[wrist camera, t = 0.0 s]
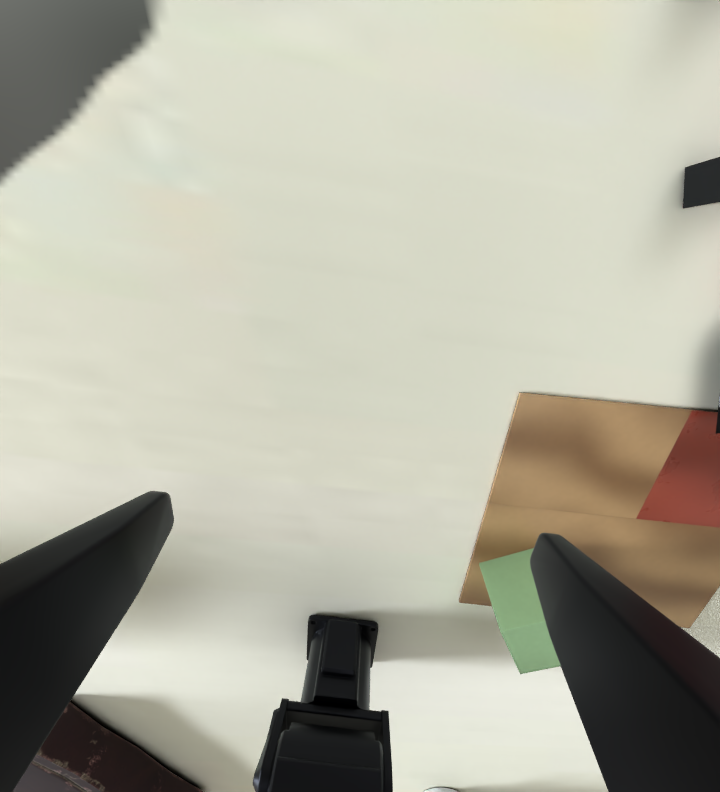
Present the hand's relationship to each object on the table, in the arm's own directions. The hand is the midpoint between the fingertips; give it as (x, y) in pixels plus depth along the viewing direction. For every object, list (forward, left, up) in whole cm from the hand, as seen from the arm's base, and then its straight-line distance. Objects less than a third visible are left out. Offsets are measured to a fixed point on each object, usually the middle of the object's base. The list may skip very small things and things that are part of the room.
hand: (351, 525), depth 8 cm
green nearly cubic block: (-17, -14, -14) cm, 27 cm away
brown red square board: (-11, -20, -15) cm, 27 cm away
